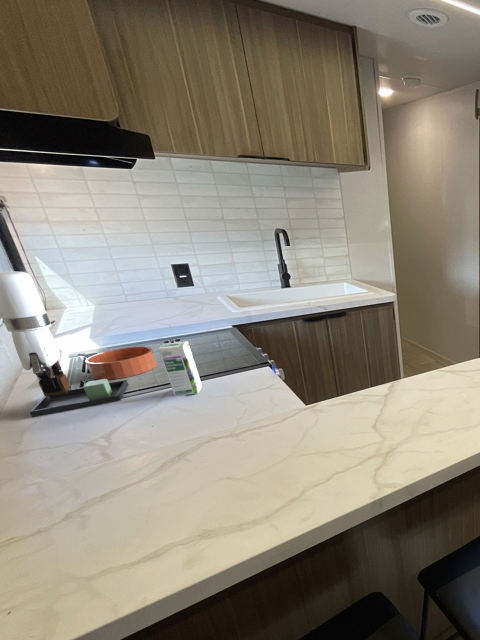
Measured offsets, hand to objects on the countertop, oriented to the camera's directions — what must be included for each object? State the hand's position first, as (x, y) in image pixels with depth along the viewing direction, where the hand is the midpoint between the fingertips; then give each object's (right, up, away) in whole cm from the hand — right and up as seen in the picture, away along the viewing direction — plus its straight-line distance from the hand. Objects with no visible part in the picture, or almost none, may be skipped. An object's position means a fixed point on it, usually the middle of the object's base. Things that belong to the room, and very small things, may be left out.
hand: (56, 388), depth 108 cm
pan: (+4, -4, +4) cm, 6 cm away
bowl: (-3, +5, +24) cm, 25 cm away
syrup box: (+29, -2, +9) cm, 30 cm away
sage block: (+7, -3, +5) cm, 9 cm away
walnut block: (0, -1, 0) cm, 1 cm away
